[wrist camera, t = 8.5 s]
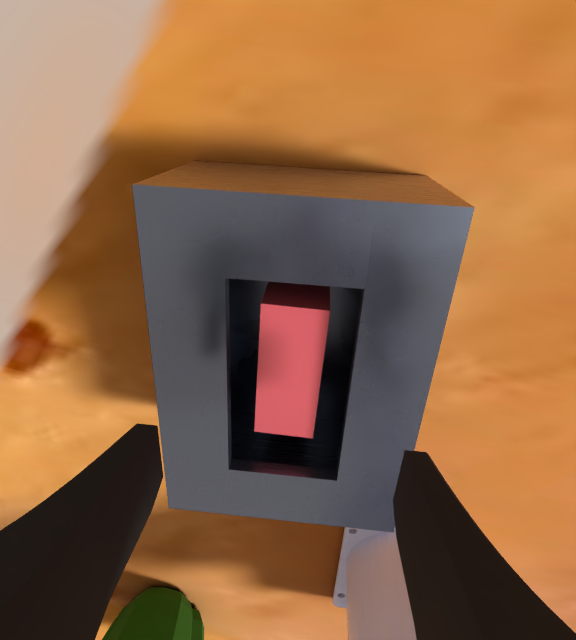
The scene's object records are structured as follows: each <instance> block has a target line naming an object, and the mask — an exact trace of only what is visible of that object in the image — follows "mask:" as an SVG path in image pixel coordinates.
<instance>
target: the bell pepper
mask: <svg viewBox="0 0 576 640" xmlns="http://www.w3.org/2000/svg"><path fill="white" fill-rule="evenodd" d="M102 640H204V627H203V622H202V619H201V615H200V612H199V610H196V609H193V608H192V607H191V603H190V601H189V600H188V599H187V598H186V597H185V596H184V595H183V593H182V592H179V591H175V590H172V589H169V588H150V587H149V588H148V589H146V590H145V591H144V592H142V593H141V594H139V595H138V596H137V597H136V598H135V599H133V600H132V601H131V602H130V603H129V604H128V605H127V606H126V607H124V608H123V610H122V611H121V612H120V614H119V615H118V617H117V618H116V619H115V621H114V622H113V624H112V625H111V626H110V628H109V630H108V631H107V633H106V634H105V636H104V637H103V639H102Z"/></svg>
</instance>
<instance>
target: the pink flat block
mask: <svg viewBox="0 0 576 640" xmlns="http://www.w3.org/2000/svg"><path fill="white" fill-rule="evenodd" d="M329 316H330V286H320V285H307V284H294V283H281V282H268V285H267V287H266V290H265V293H264V296H263V299H262V302H261V313H260V332H259V351H258V370H257V389H256V409H255V428H254V432H263V433H271V434H279V435H288V436H296V437H305V438H313V434H314V427H315V419H316V412H317V405H318V397H319V390H320V383H321V375H322V368H323V361H324V353H325V346H326V338H327V331H328V324H329Z"/></svg>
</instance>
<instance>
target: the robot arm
mask: <svg viewBox="0 0 576 640" xmlns="http://www.w3.org/2000/svg"><path fill="white" fill-rule="evenodd" d="M162 478H163V471H162V462H161V453H160V445H159V436H158V427H157V426H155V425H145V424H136V425H135V426H134V427H133V428H131V429H130V430H129V431H128V432H127V433H126V434H124V435H123V436H122V437H121V438H120V439H119V440H118V441H116V442H115V443H114V444H113V445H112V446H111V447H110V448H108V449H107V450H106V451H105V452H104V453H103V454H102V455H100V456H99V457H98V458H97V459H96V460H95V461H93V462H92V463H91V464H90V465H89V466H87V467H86V468H85V469H84V470H83V471H81V472H80V473H79V474H78V475H77V476H75V477H74V478H73V479H72V480H70V481H69V482H68V483H67V484H65V485H64V486H63V487H61V488H60V489H59V490H57V491H56V492H55V493H54V494H52V495H51V496H50V497H48V498H47V499H46V500H44V501H43V502H42V503H40V504H39V505H38V506H36V507H35V508H33V509H32V510H31V511H29V512H28V513H26V514H25V515H23V516H22V517H20V518H19V519H17V520H16V521H14V522H13V523H11V524H10V525H8V526H7V527H5V528H4V529H2V530H1V531H0V640H95V638H96V635H97V632H98V630H99V627H100V624H101V622H102V619H103V616H104V614H105V611H106V608H107V606H108V603H109V601H110V599H111V596H112V594H113V592H114V589H115V587H116V585H117V583H118V581H119V579H120V576H121V574H122V572H123V570H124V568H125V566H126V564H127V562H128V560H129V558H130V555H131V553H132V551H133V549H134V547H135V545H136V543H137V541H138V539H139V537H140V534H141V532H142V530H143V528H144V526H145V524H146V522H147V519H148V517H149V515H150V513H151V511H152V508H153V505H154V502H155V500H156V497H157V494H158V491H159V488H160V484H161V481H162ZM393 509H394V520H395V529H394V532H384V531H375V530H366V529H357V528H348V527H345V528H344V534H343V540H342V546H341V552H340V558H339V564H338V570H337V576H336V582H335V588H334V594H333V604H334V605H335V606H336V607H341V608H347V629H348V640H576V633H575V632H574V631H573V630H572V629H570V628H569V627H568V626H567V625H566V624H565V623H564V622H563V621H562V620H561V619H560V618H559V617H558V616H557V615H556V614H555V613H554V612H553V611H552V610H551V609H550V608H549V607H548V606H547V605H546V604H545V603H544V602H543V601H542V600H541V599H540V598H539V597H538V596H537V595H536V594H535V593H534V592H533V591H532V590H531V589H530V587H529V586H528V585H527V584H526V583H525V582H524V581H523V580H522V579H521V578H520V576H519V575H518V574H517V573H516V572H515V571H514V570H513V569H512V567H511V566H510V565H509V564H508V563H507V562H506V560H505V559H504V558H503V557H502V556H501V555H500V553H499V552H498V551H497V550H496V548H495V547H494V546H493V545H492V543H491V542H490V541H489V540H488V538H487V537H486V536H485V535H484V533H483V532H482V531H481V530H480V528H479V527H478V526H477V524H476V523H475V522H474V520H473V519H472V518H471V516H470V515H469V513H468V512H467V511H466V509H465V508H464V507H463V505H462V504H461V502H460V501H459V500H458V498H457V497H456V495H455V494H454V492H453V491H452V490H451V488H450V487H449V485H448V484H447V482H446V481H445V479H444V478H443V476H442V475H441V473H440V472H439V470H438V469H437V467H436V465H435V464H434V462H433V461H432V459H431V458H430V456H429V455H428V454H427V452H418V451H408V450H405V451H404V455H403V459H402V463H401V468H400V472H399V476H398V480H397V485H396V489H395V493H394V498H393Z"/></svg>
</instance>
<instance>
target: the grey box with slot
mask: <svg viewBox="0 0 576 640" xmlns="http://www.w3.org/2000/svg"><path fill="white" fill-rule="evenodd" d="M132 188H133V196H134V205H135V214H136V223H137V232H138V241H139V249H140V258H141V267H142V276H143V285H144V293H145V302H146V311H147V320H148V329H149V338H150V346H151V355H152V364H153V373H154V382H155V390H156V399H157V408H158V417H159V426H160V435H161V443H162V452H163V461H164V470H165V479H166V487H167V496H168V505H169V508H173V509H182V510H191V511H200V512H210V513H219V514H228V515H237V516H246V517H256V518H265V519H274V520H283V521H292V522H302V523H311V524H320V525H329V526H338V527H348V528H357V529H366V530H375V531H384V532H394V529H395V520H394V509H393V498H394V493H395V489H396V485H397V480H398V476H399V472H400V468H401V463H402V459H403V455H404V451H405V450H408V451H414V449H415V445H416V441H417V437H418V433H419V429H420V425H421V421H422V417H423V413H424V409H425V405H426V401H427V396H428V392H429V388H430V384H431V380H432V376H433V372H434V368H435V364H436V360H437V356H438V352H439V348H440V344H441V340H442V336H443V332H444V328H445V324H446V320H447V316H448V312H449V308H450V304H451V300H452V296H453V292H454V288H455V284H456V280H457V276H458V272H459V268H460V264H461V260H462V256H463V252H464V248H465V244H466V240H467V236H468V232H469V228H470V224H471V219H472V215H473V211H474V207H473V206H471V205H470V204H468V203H467V202H465V201H464V200H462V199H461V198H459V197H458V196H456V195H455V194H453V193H452V192H450V191H449V190H447V189H446V188H444V187H443V186H441V185H440V184H438V183H437V182H435V181H434V180H432V179H431V178H429V177H428V176H425V175H410V174H394V173H379V172H363V171H347V170H332V169H316V168H301V167H285V166H269V165H254V164H238V163H223V162H207V161H192V162H189V163H187V164H184V165H181V166H179V167H176V168H174V169H171V170H168V171H166V172H163V173H161V174H158V175H155V176H153V177H150V178H147V179H145V180H142V181H140V182H137V183H134V184H132ZM268 282H281V283H294V284H307V285H320V286H330V316H329V324H328V331H327V338H326V346H325V353H324V361H323V368H322V375H321V383H320V390H319V397H318V405H317V412H316V419H315V427H314V434H313V438H305V437H296V436H288V435H279V434H271V433H263V432H254V428H255V409H256V389H257V370H258V351H259V332H260V313H261V302H262V299H263V296H264V293H265V290H266V287H267V285H268Z"/></svg>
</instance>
